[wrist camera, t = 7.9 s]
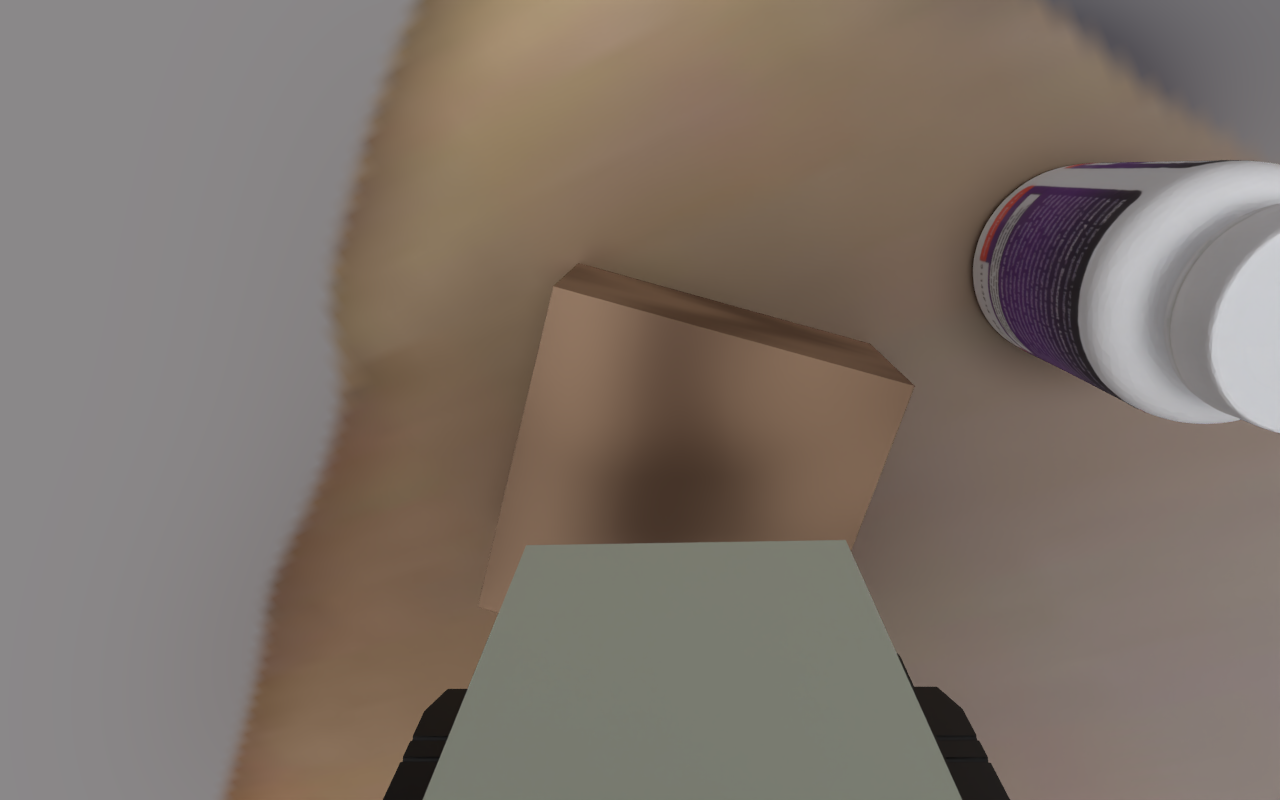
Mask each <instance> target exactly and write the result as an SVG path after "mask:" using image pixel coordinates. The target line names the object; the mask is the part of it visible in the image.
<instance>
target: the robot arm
mask: <svg viewBox="0 0 1280 800" xmlns="http://www.w3.org/2000/svg"><path fill="white" fill-rule="evenodd" d="M897 656H898V658H899V660H900V662H901V664H902V667H903V669H904V671H905V673H906V676H907V678H908V680H909V682H910V685H911V687H912V689H913V691H914V694H915V696H916V698H917V700H918V702H919V705H920V707H921V709H922V711H923V714H924V716H925V718H926V720H927V723H928V725H929V727H930V729H931V731H932V734H933V736H934V738H935V740H936V743H937V745H938V747H939V749H940V752H941V754H942V756H943V758H944V760H945V763H946V765H947V767H948V769H949V772H950V774H951V776H952V778H953V781H954V783H955V785H956V787H957V789H958V792H959V794H960V796H961V798H962V800H1010V799H1009V797H1008V795H1007V793H1006V791H1005V789H1004V787H1003V786H1002V784H1001V782H1000V780H999V778H998V776H997V774H996V772H995V770H994V768H993V766H992V764H991V763H989V762H988V757H987V755H986V753H985V751H984V749H983V747H982V745H981V743H980V742H979V741H977V738H976V734H975V732H974V730H973V728H972V726H971V724H970V722H969V720H968V719H967V717H966V715H965V713H964V711H963V709H962V708H961V707H959V706H958V705H957V704H956V703H955V702H954V701H953V700H951V699H950V698H949V697H948V696H947V695H946V694H945V693H943V692H942V691H941V690H940V689H939V688H938V687H914V686H913V684H912V681H911V679H910V677H909V675H908V673H907V670H906V668H905V666H904V664H903V661H902V659H901V657H900V656H899V654H897ZM467 690H468V689H447V690H446V691H445V692H444V693H443V694H442V695H441V696H440V697H439V698H438V699H437V700H436V701H435V702H434V703H432V704H431V705H430V706H429V707H428V708H427V709H426V710H425V711H424V713H423V715H422V718H421V720H420V722H419V724H418V726H417V728H416V730H415V733H414V735H413V740H412V741H410V743H409V745H408V747H407V750H406V752H405V754H404V756H403V762H400V764H399V767H398V769H397V771H396V773H395V775H394V777H393V779H392V781H391V784H390V786H389V788H388V790H387V792H386V794H385V796H384V799H383V800H423V798H424V795H425V793H426V790H427V788H428V785H429V783H430V781H431V778H432V776H433V773H434V771H435V768H436V766H437V763H438V761H439V758H440V756H441V754H442V751H443V749H444V746H445V744H446V741H447V739H448V736H449V734H450V731H451V729H452V726H453V724H454V722H455V719H456V717H457V714H458V712H459V709H460V707H461V704H462V702H463V699H464V697H465V695H466V692H467Z"/></svg>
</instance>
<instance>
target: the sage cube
mask: <svg viewBox="0 0 1280 800" xmlns="http://www.w3.org/2000/svg"><path fill="white" fill-rule="evenodd" d="M423 800H962V798H961V796H960V794H959V792H958V789H957V787H956V785H955V783H954V781H953V778H952V776H951V774H950V772H949V769H948V767H947V765H946V763H945V760H944V758H943V756H942V754H941V752H940V749H939V747H938V745H937V743H936V740H935V738H934V736H933V734H932V731H931V729H930V727H929V725H928V723H927V720H926V718H925V716H924V714H923V711H922V709H921V707H920V705H919V702H918V700H917V698H916V696H915V694H914V691H913V689H912V687H911V685H910V682H909V680H908V678H907V676H906V673H905V671H904V669H903V667H902V664H901V662H900V660H899V658H898V656H897V653H896V651H895V649H894V647H893V644H892V642H891V640H890V638H889V635H888V633H887V631H886V629H885V627H884V624H883V622H882V620H881V618H880V615H879V613H878V611H877V609H876V606H875V604H874V602H873V600H872V598H871V595H870V593H869V591H868V589H867V586H866V584H865V582H864V580H863V577H862V575H861V573H860V571H859V569H858V566H857V564H856V562H855V560H854V557H853V555H852V553H851V551H850V548H849V546H848V544H847V542H846V540H816V541H755V542H695V543H634V544H573V545H526V547H525V549H524V552H523V554H522V557H521V559H520V562H519V564H518V567H517V569H516V572H515V574H514V577H513V579H512V581H511V584H510V586H509V589H508V591H507V594H506V596H505V599H504V601H503V604H502V606H501V608H500V611H499V613H498V616H497V618H496V621H495V623H494V626H493V628H492V631H491V633H490V636H489V638H488V640H487V643H486V645H485V648H484V650H483V653H482V655H481V658H480V660H479V663H478V665H477V667H476V670H475V672H474V675H473V677H472V680H471V682H470V685H469V687H468V690H467V692H466V695H465V697H464V699H463V702H462V704H461V707H460V709H459V712H458V714H457V717H456V719H455V722H454V724H453V726H452V729H451V731H450V734H449V736H448V739H447V741H446V744H445V746H444V749H443V751H442V754H441V756H440V758H439V761H438V763H437V766H436V768H435V771H434V773H433V776H432V778H431V781H430V783H429V785H428V788H427V790H426V793H425V795H424V798H423Z"/></svg>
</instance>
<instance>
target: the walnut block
mask: <svg viewBox="0 0 1280 800" xmlns="http://www.w3.org/2000/svg"><path fill="white" fill-rule="evenodd" d="M914 387H915V386H914V385H913V384H912V383H911V382H910V381H909V380H908V379H907V378H906V377H905V376H904V375H903V374H902V373H900V372H899V371H898V370H897V369H896V368H895V367H894V366H893V365H892V364H891V363H890V362H889V361H888V360H887V359H886V358H885V357H883V356H882V355H881V354H880V353H879V352H878V351H877V350H876V349H875V348H874V347H873V346H872V345H871V344H869V343H865V342H862V341H858V340H854V339H851V338H847V337H844V336H840V335H836V334H833V333H829V332H825V331H822V330H818V329H815V328H811V327H807V326H804V325H800V324H797V323H793V322H789V321H786V320H782V319H778V318H775V317H771V316H768V315H764V314H760V313H757V312H753V311H750V310H746V309H742V308H739V307H735V306H732V305H728V304H724V303H721V302H717V301H713V300H710V299H706V298H703V297H699V296H695V295H692V294H688V293H685V292H681V291H677V290H674V289H670V288H666V287H663V286H659V285H656V284H652V283H648V282H645V281H641V280H638V279H634V278H630V277H627V276H623V275H619V274H616V273H612V272H609V271H605V270H601V269H598V268H594V267H591V266H587V265H583V264H580V263H578V264H577V265H576V266H575V267H574V268H573V269H572V270H571V271H570V272H569V273H567V274H566V275H565V276H564V277H563V278H562V279H561V280H560V281H559V282H557V283H556V284H555V285H554V286H553V290H552V294H551V298H550V302H549V307H548V311H547V315H546V319H545V324H544V328H543V332H542V336H541V340H540V345H539V349H538V353H537V357H536V362H535V366H534V370H533V374H532V379H531V383H530V387H529V391H528V395H527V400H526V404H525V408H524V412H523V417H522V421H521V425H520V429H519V433H518V438H517V442H516V446H515V450H514V455H513V459H512V463H511V467H510V472H509V476H508V480H507V484H506V488H505V493H504V497H503V501H502V505H501V510H500V514H499V518H498V522H497V526H496V531H495V535H494V539H493V543H492V548H491V552H490V556H489V560H488V565H487V569H486V573H485V577H484V581H483V586H482V590H481V594H480V598H479V603H478V607H479V608H483V609H486V610H490V611H494V612H498V613H499V611H500V608H501V606H502V604H503V601H504V599H505V596H506V594H507V591H508V589H509V586H510V584H511V581H512V579H513V577H514V574H515V572H516V569H517V567H518V564H519V562H520V559H521V557H522V554H523V552H524V549H525V547H526V545H573V544H634V543H695V542H755V541H816V540H846V542H847V544H848V546H849V548H850V551H851V550H852V548H853V545H854V542H855V540H856V537H857V535H858V532H859V529H860V527H861V524H862V522H863V519H864V517H865V514H866V511H867V509H868V506H869V504H870V501H871V498H872V496H873V493H874V491H875V488H876V485H877V483H878V480H879V478H880V475H881V473H882V470H883V467H884V465H885V462H886V460H887V457H888V454H889V452H890V449H891V447H892V444H893V441H894V439H895V436H896V434H897V431H898V428H899V426H900V423H901V421H902V418H903V416H904V413H905V410H906V408H907V405H908V403H909V400H910V397H911V395H912V392H913V390H914Z"/></svg>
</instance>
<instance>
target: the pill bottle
mask: <svg viewBox="0 0 1280 800" xmlns="http://www.w3.org/2000/svg"><path fill="white" fill-rule="evenodd" d="M973 281H974V288H975V293H976V297H977V300H978V303H979V305H980V307H981V310H982V312H983V314H984V315H985V317H986V319H987V320H988V321H989V323H990V324H991V325H992V327H993V328H994V329H995V330H996V331H997V332H998V333H999V334H1000V335H1002V336H1003V337H1004V338H1005V339H1007V340H1008V341H1009V342H1011V343H1012V344H1014V345H1016V346H1017V347H1019V348H1021V349H1022V350H1024V351H1026V352H1028V353H1030V354H1032V355H1034V356H1036V357H1038V358H1040V359H1042V360H1044V361H1046V362H1048V363H1050V364H1052V365H1054V366H1056V367H1058V368H1060V369H1062V370H1064V371H1066V372H1068V373H1070V374H1072V375H1074V376H1076V377H1078V378H1080V379H1082V380H1084V381H1086V382H1088V383H1090V384H1092V385H1094V386H1095V387H1097V388H1099V389H1101V390H1103V391H1105V392H1107V393H1109V394H1111V395H1113V396H1115V397H1117V398H1118V399H1120V400H1122V401H1124V402H1126V403H1128V404H1129V405H1131V406H1133V407H1135V408H1137V409H1140V410H1142V411H1143V412H1145V413H1150V414H1152V415H1155V416H1158V417H1161V418H1165V419H1169V420H1172V421H1177V422H1184V423H1194V424H1213V423H1225V422H1232V421H1237V420H1241V419H1242V420H1244V421H1246V422H1249V423H1251V424H1253V425H1256V426H1258V427H1261V428H1264V429H1267V430H1270V431H1272V432H1277V433H1280V164H1275V163H1268V162H1258V161H1239V160H1220V161H1177V162H1120V163H1087V164H1078V165H1071V166H1066V167H1061V168H1057V169H1054V170H1051V171H1047V172H1045V173H1043V174H1041V175H1038V176H1036V177H1034V178H1033V179H1031V180H1029V181H1027V182H1026V183H1024V184H1023V185H1022V186H1020V187H1019V188H1017V189H1016V190H1015V191H1014V192H1013V193H1011V194H1010V195H1009V196H1008V197H1007V198H1006V199H1005V200H1004V201H1003V202H1002V203H1001V204H1000V205H999V206H998V208H997V209H996V210H995V212H994V213H993V214H992V216H991V217H990V219H989V220H988V222H987V224H986V225H985V227H984V229H983V231H982V233H981V236H980V238H979V241H978V244H977V248H976V251H975V256H974V262H973Z"/></svg>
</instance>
